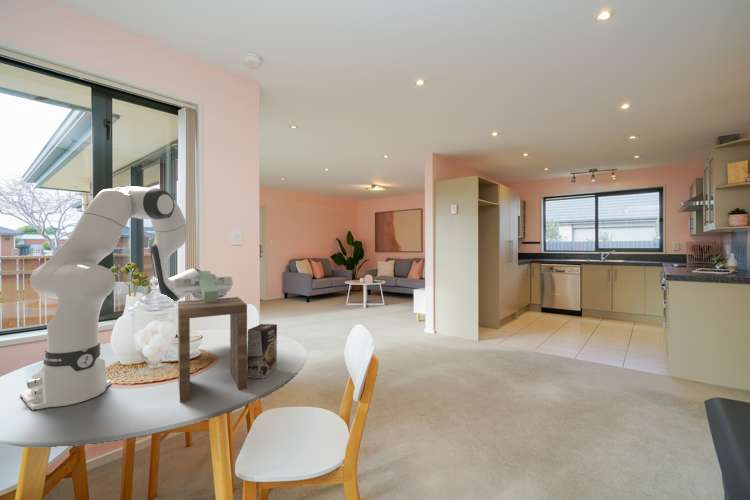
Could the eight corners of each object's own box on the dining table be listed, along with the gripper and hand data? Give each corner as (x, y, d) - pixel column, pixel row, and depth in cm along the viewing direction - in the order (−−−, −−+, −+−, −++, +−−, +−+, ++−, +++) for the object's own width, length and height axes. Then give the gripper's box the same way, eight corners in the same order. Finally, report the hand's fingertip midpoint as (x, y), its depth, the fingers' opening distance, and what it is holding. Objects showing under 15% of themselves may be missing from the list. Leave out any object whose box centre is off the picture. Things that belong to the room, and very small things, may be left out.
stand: (178, 381, 109) (178, 301, 109) (238, 371, 119) (237, 297, 118) (179, 402, 96) (179, 310, 95) (247, 388, 105) (247, 304, 104)
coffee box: (264, 379, 112) (264, 330, 112) (246, 377, 113) (246, 329, 113) (277, 369, 121) (277, 324, 120) (261, 367, 122) (261, 323, 122)
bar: (198, 279, 129) (198, 271, 129) (209, 279, 131) (209, 270, 131) (204, 302, 108) (204, 291, 107) (218, 301, 110) (218, 290, 109)
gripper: (172, 285, 132) (172, 269, 122) (229, 282, 143) (233, 267, 132) (172, 300, 130) (172, 285, 119) (230, 296, 140) (235, 282, 130)
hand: (205, 276), depth 126 cm, fingers closed on bar, 4 cm apart
